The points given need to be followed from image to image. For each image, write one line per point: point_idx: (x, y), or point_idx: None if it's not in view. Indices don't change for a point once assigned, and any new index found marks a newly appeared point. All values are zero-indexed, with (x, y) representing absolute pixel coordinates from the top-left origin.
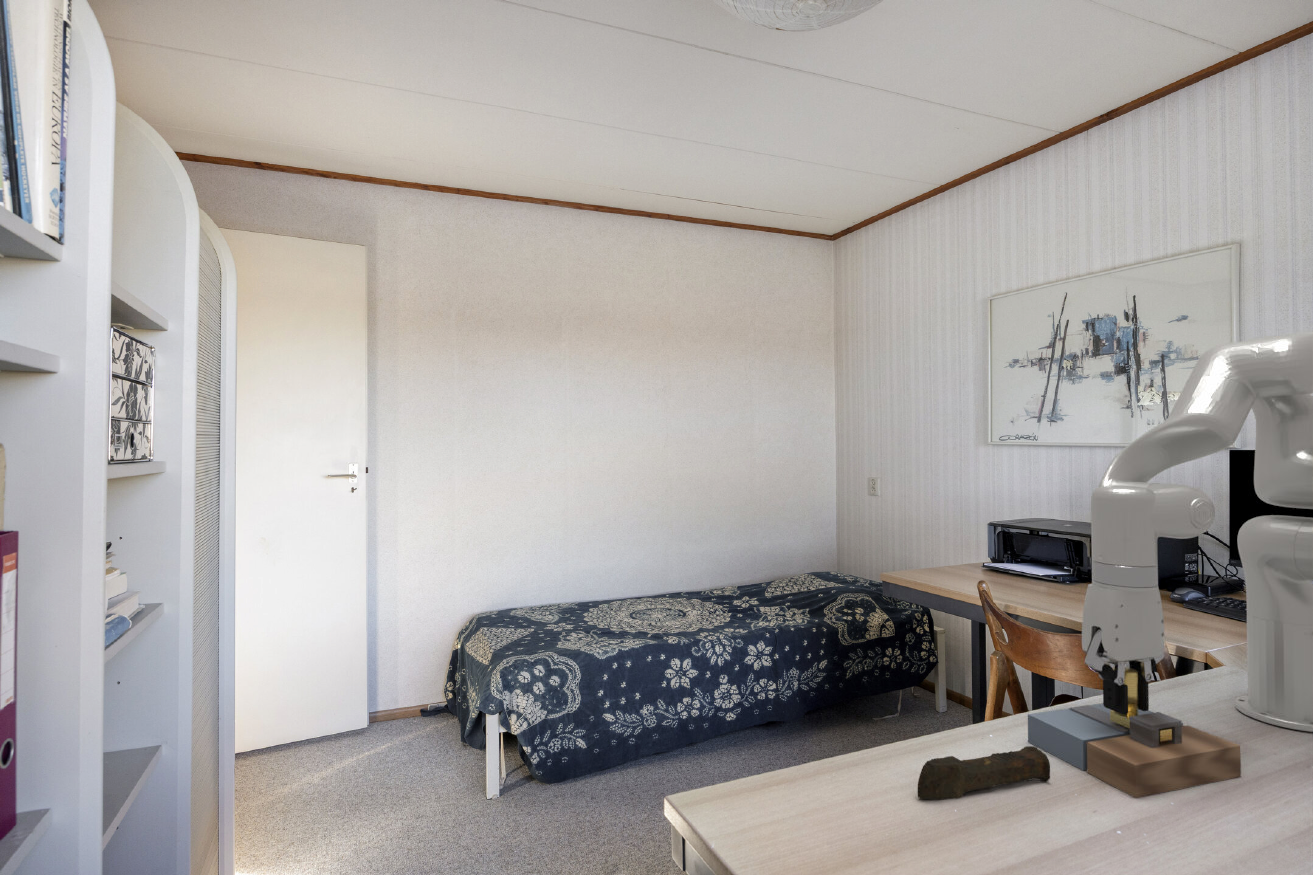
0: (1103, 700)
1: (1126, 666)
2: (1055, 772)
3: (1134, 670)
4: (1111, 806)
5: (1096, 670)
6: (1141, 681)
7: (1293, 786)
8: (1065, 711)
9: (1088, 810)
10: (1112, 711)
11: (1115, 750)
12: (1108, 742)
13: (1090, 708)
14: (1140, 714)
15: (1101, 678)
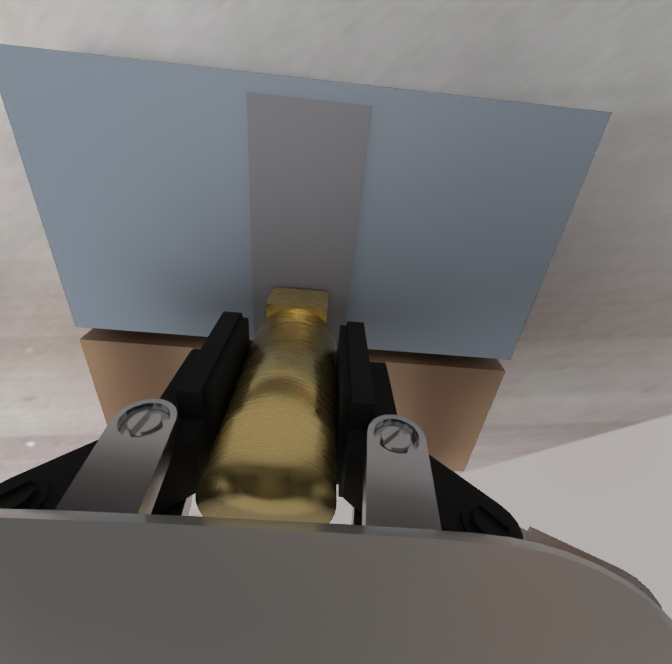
0: (219, 320)
1: (365, 461)
2: (42, 267)
3: (314, 522)
4: (76, 399)
5: (26, 474)
6: (340, 480)
7: (481, 459)
8: (210, 102)
9: (17, 393)
10: (266, 312)
11: (128, 395)
12: (149, 360)
13: (335, 146)
14: (479, 261)
15: (142, 404)
